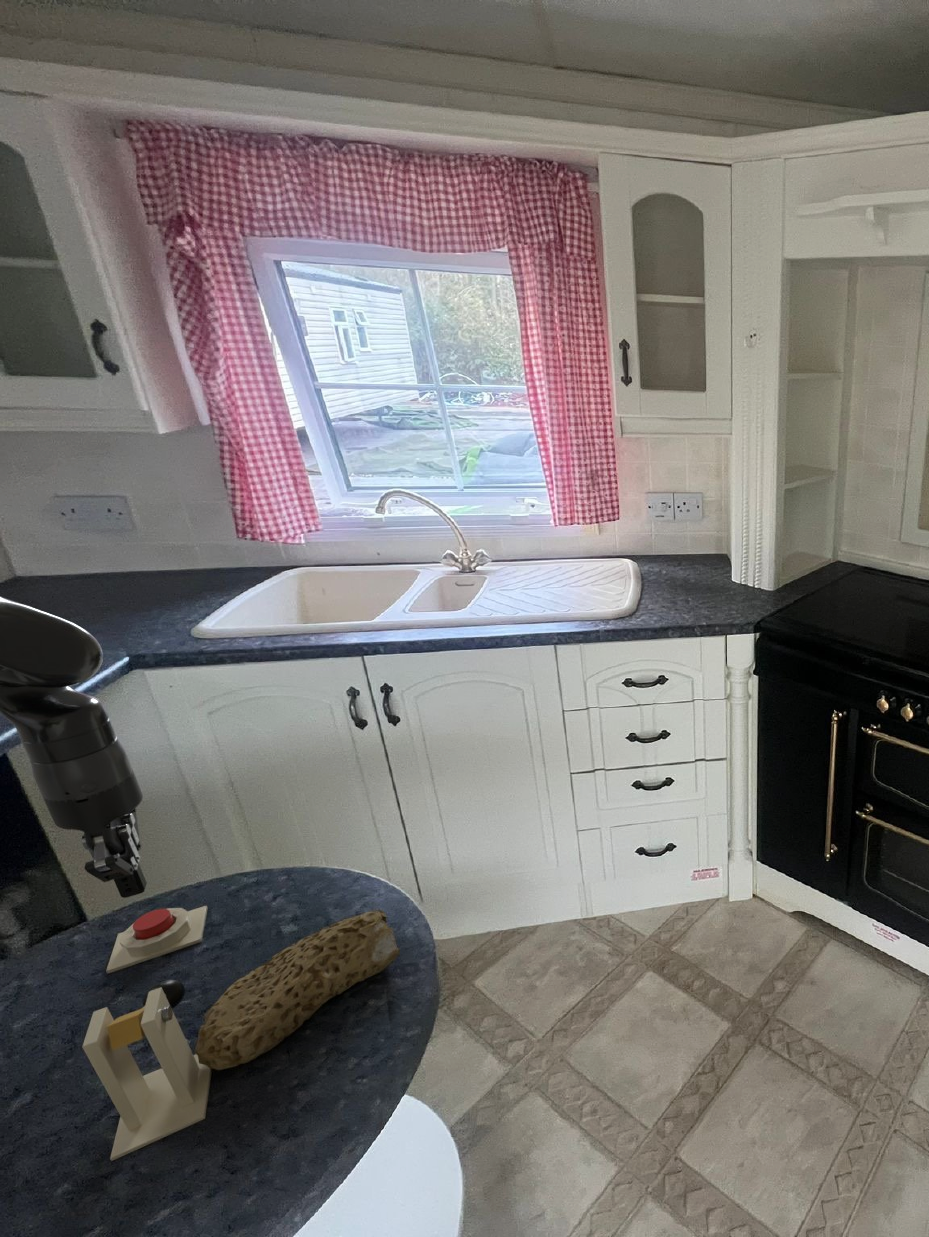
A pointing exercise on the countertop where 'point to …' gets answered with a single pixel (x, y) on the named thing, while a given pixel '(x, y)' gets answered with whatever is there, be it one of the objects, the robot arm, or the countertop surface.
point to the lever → (130, 1024)
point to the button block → (158, 939)
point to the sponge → (293, 989)
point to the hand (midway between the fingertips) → (134, 892)
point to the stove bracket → (149, 1077)
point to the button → (153, 924)
